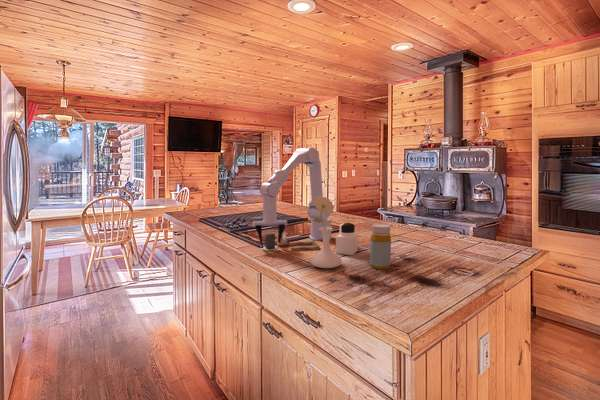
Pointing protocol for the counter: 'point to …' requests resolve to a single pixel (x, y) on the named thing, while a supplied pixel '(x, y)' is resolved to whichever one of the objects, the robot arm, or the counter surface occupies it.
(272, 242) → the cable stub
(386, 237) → the bottle
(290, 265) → the counter surface
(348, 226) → the medicine bottle
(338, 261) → the flower in vase
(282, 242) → the latch bar
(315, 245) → the frame
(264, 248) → the off-white flat square block
